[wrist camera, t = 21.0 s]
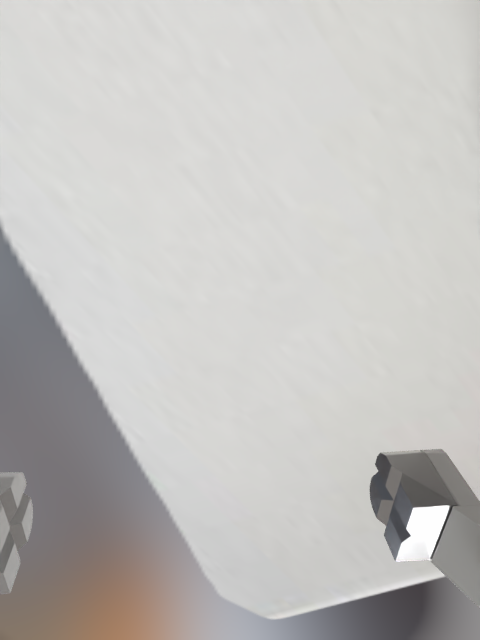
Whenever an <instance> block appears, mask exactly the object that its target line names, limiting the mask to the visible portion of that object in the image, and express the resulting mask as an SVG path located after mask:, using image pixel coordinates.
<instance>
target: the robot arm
mask: <svg viewBox="0 0 480 640" xmlns="http://www.w3.org/2000/svg"><path fill="white" fill-rule="evenodd" d="M375 465H376V467H377V469H378V472H377V473H376V474H375V475H374V476H373V477H372V479H371V483H370V500H371V504H372V508H373V510H374V513H375V515H376V518H377V519H378V520H380V521H381V522H382V523H383V524H385V525H386V529H385V533H384V537H385V539H386V541H387V543H388V546H389V548H390V550H391V553H392V555H393V557H394V560H395V562H400V561H419V560H432V561H431V562H432V563H433V564H434V565H435V566H436V567H437V568H438V569H439V570H440V571H441V572H442V573H443V574H444V575H445V576H446V577H447V578H448V579H450V580H451V581H452V582H453V583H454V584H455V585H456V586H457V587H458V588H459V589H460V590H461V591H462V592H463V593H464V594H465V595H466V596H467V597H468V598H469V599H471V601H472V602H474V603H475V604H476V605H477V606H478V607H479V608H480V501H479V500H478V498H477V497H476V496H475V494H474V493H473V491H472V490H471V488H470V487H469V485H468V484H467V482H466V481H465V480H464V478H463V477H462V475H461V474H460V472H459V471H458V469H457V468H456V467H455V465H454V464H453V462H452V461H451V459H450V458H449V456H448V455H447V453H446V452H445V451H443V450H442V449H432V450H420V451H419V450H414V451H398V452H383V453H380V454H379V455H378V456H377V459H376V463H375ZM26 484H27V483H26V480H25V477H24V474H23V473H20V472H13V473H12V472H11V473H0V594H6V593H10V592H11V589H12V586H13V583H14V580H15V577H16V574H17V572H18V568H19V566H20V558H19V555H18V551H19V550H20V549H21V548H22V547H23V546H24V545H25V544H26V543H27V541H28V538H29V535H30V532H31V526H32V520H33V508H32V502H31V498H30V497H28V496H27V495H26V494H24V493H23V492H24V490H25V487H26Z"/></svg>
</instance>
